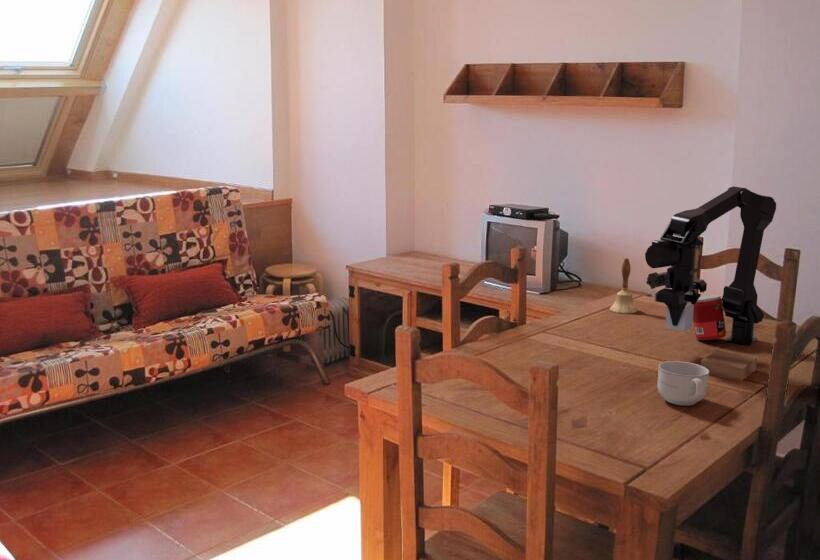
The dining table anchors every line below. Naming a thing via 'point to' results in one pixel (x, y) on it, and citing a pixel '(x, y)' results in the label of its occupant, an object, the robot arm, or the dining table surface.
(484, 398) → the dining table surface
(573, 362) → the dining table surface
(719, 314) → the canned food
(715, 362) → the wooden block
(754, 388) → the dining table surface
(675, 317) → the robot arm
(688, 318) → the white cube
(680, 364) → the teacup
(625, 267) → the hand bell
